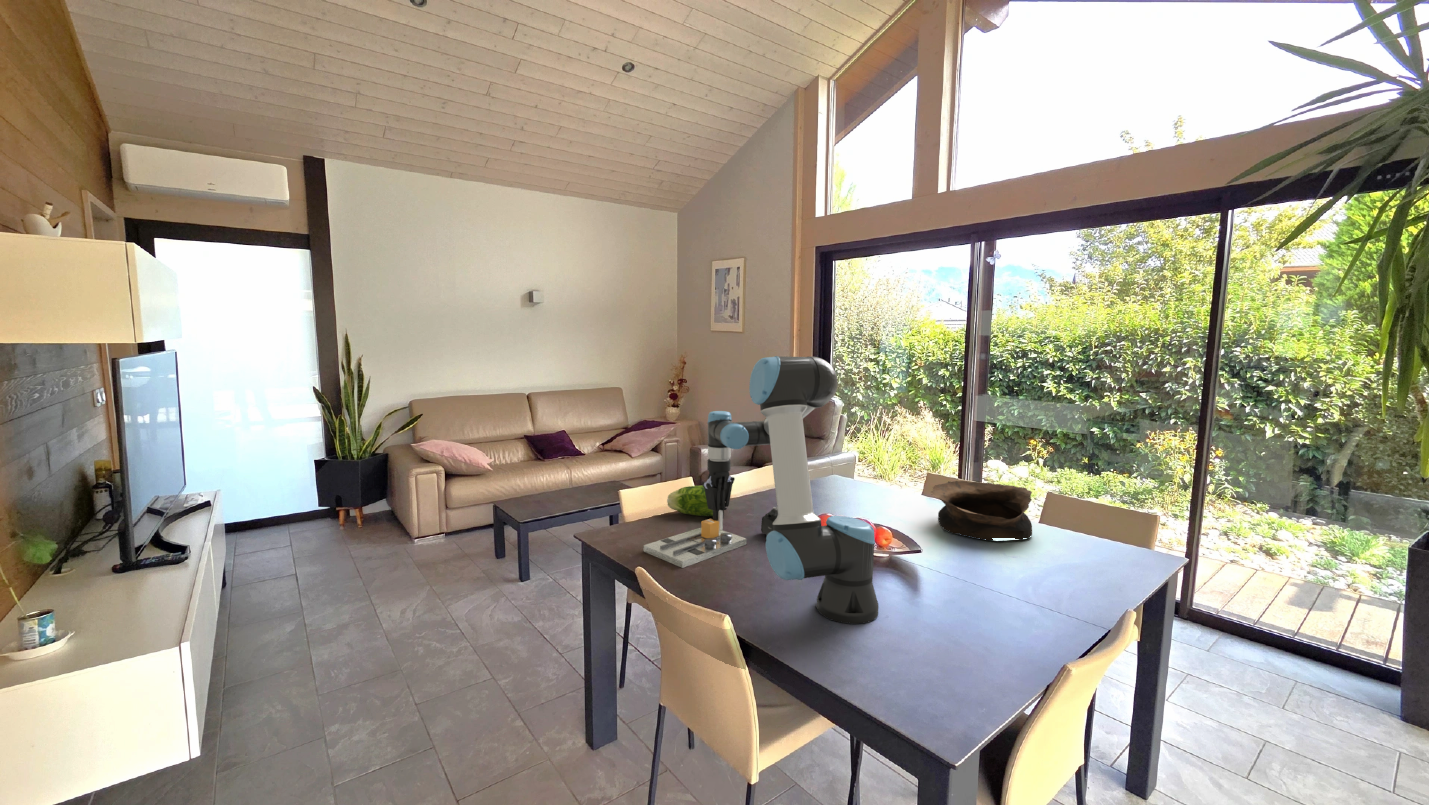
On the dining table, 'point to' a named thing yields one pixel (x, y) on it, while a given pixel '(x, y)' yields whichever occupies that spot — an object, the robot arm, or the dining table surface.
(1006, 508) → the bowl
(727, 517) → the dining table surface
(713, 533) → the fader
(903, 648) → the dining table surface
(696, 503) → the lettuce
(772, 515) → the camera
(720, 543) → the console
